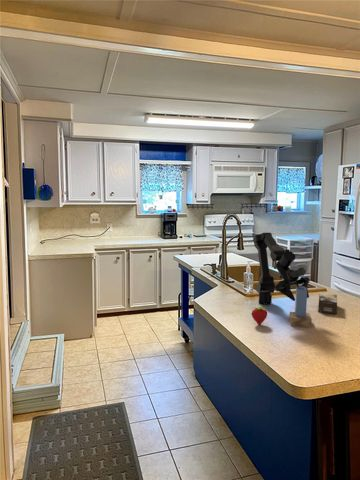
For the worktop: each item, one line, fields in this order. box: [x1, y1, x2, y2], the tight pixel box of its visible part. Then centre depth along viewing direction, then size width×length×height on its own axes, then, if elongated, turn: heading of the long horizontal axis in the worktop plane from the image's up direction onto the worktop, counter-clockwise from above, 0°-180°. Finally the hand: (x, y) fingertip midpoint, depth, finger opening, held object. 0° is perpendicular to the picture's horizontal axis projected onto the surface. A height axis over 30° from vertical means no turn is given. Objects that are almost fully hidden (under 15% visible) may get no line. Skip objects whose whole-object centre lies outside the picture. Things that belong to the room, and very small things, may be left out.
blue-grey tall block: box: [294, 286, 308, 317], centre depth 172 cm, size 4×4×14 cm
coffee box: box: [317, 292, 338, 315], centre depth 195 cm, size 9×6×16 cm
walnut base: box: [289, 311, 312, 328], centre depth 174 cm, size 9×9×4 cm
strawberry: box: [251, 306, 268, 326], centre depth 171 cm, size 6×8×10 cm
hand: (301, 299), depth 172 cm, fingers open, 9 cm apart
